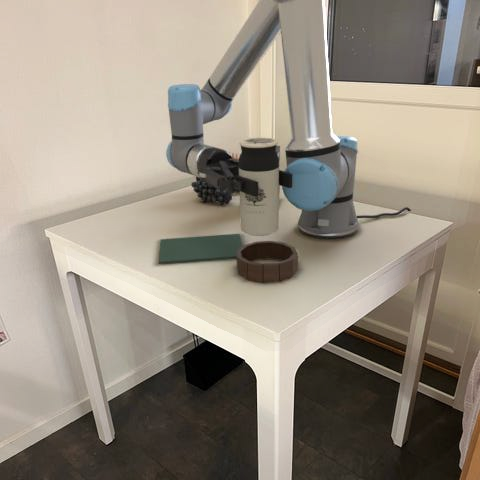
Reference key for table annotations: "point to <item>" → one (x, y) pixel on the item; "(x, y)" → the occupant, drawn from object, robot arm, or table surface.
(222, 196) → the fruit
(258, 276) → the holder
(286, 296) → the table surface
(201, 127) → the robot arm
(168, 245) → the mat
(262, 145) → the travel mug
